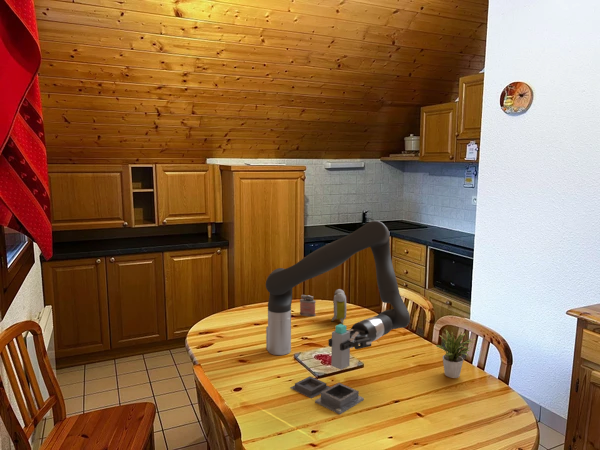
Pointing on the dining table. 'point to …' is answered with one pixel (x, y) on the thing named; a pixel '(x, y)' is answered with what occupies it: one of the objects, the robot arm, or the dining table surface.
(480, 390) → the dining table surface
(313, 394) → the grey square tray
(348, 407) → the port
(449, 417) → the dining table surface
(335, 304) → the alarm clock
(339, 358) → the plug
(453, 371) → the house plant
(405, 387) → the dining table surface
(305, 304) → the lighter
